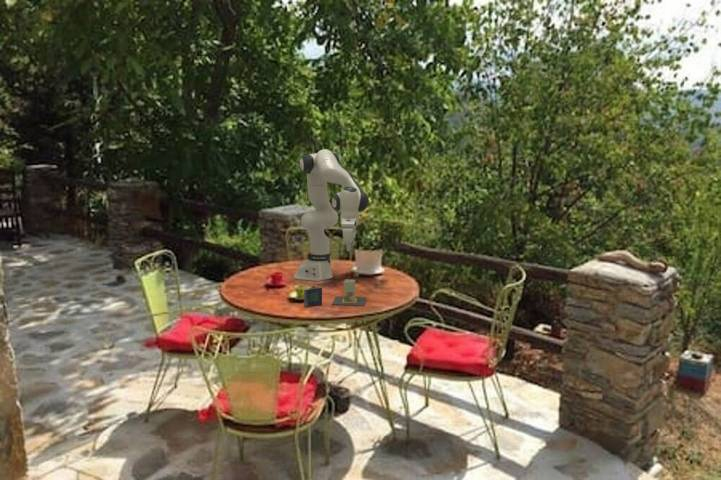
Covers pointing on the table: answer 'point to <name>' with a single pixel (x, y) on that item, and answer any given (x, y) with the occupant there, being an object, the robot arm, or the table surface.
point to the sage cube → (349, 285)
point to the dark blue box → (313, 296)
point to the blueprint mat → (358, 302)
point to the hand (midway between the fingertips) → (349, 248)
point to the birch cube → (349, 296)
